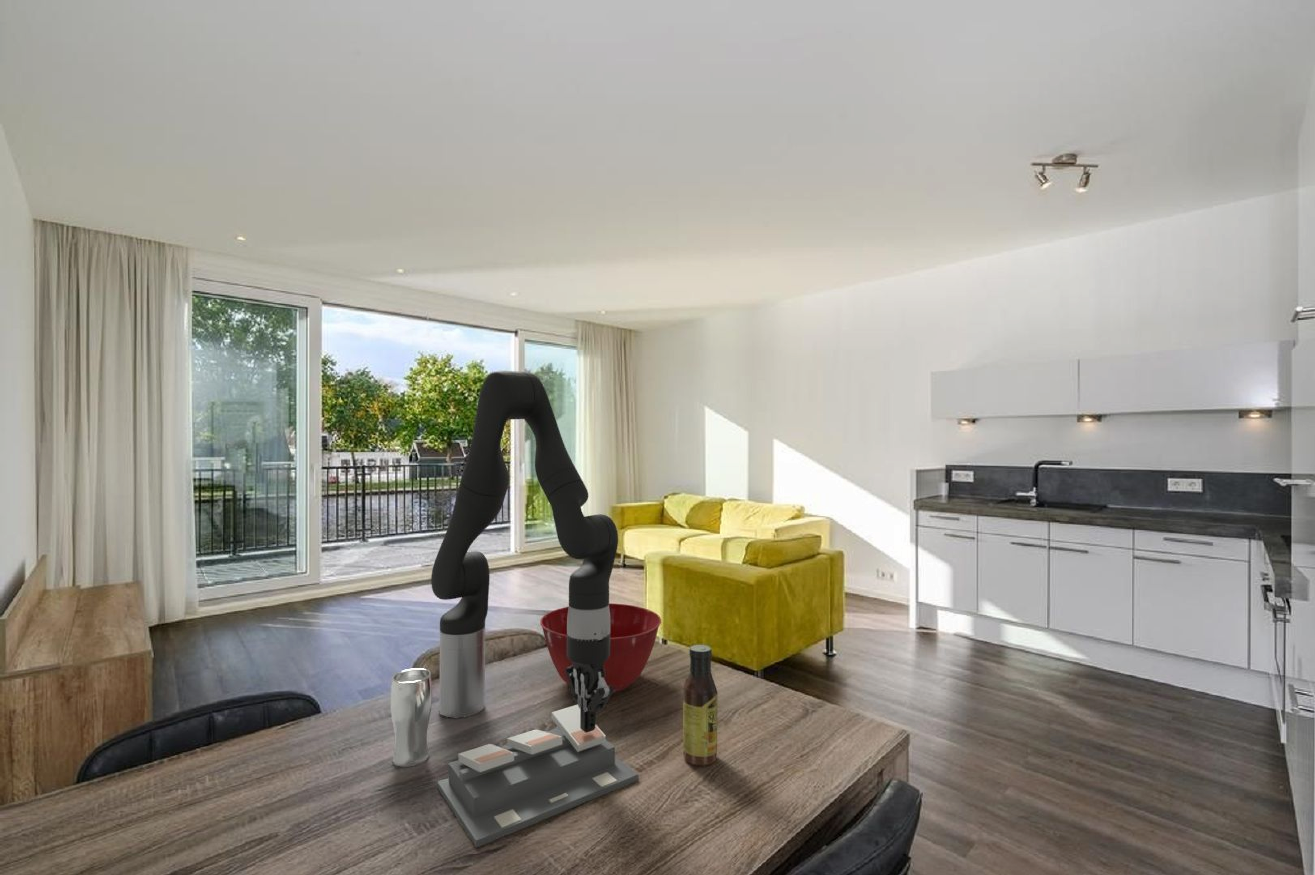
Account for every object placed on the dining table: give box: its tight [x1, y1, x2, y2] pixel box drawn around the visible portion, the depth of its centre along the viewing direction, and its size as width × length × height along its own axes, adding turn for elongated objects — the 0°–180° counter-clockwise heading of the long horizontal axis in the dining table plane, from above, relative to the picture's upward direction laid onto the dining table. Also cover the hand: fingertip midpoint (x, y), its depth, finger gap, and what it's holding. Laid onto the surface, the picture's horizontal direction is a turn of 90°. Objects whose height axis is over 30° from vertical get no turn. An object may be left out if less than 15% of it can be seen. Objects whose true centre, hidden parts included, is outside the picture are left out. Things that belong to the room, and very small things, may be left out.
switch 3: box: [550, 704, 607, 752], centre depth 106 cm, size 10×6×1 cm, turn 37°
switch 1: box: [457, 743, 514, 772], centre depth 96 cm, size 10×6×1 cm, turn 37°
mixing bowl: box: [539, 602, 662, 694], centre depth 141 cm, size 28×28×16 cm
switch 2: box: [506, 729, 562, 755], centre depth 101 cm, size 10×6×1 cm, turn 37°
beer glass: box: [390, 667, 433, 768], centre depth 107 cm, size 7×7×15 cm
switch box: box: [436, 727, 639, 848], centre depth 99 cm, size 18×28×5 cm, turn 127°
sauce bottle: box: [682, 644, 719, 767], centre depth 108 cm, size 7×6×20 cm
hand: (587, 729), depth 103 cm, fingers closed
